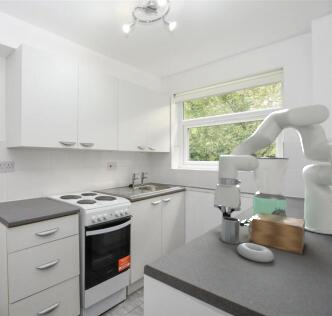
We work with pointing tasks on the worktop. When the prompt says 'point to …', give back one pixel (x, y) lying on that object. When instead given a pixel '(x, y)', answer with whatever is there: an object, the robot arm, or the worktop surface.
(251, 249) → the donut
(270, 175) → the juicer
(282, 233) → the cabinet
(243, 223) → the drawer
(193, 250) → the worktop surface
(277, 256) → the worktop surface
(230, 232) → the measuring cup
